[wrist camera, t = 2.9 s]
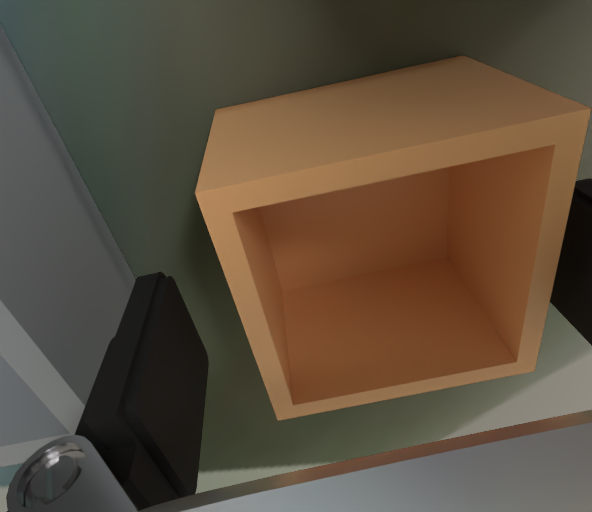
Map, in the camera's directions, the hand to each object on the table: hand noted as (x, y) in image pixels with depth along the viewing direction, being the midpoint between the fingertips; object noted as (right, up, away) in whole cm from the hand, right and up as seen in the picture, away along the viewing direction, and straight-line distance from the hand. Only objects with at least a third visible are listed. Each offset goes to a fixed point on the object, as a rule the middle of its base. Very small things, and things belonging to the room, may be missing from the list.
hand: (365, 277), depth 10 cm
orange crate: (0, +2, +2) cm, 3 cm away
